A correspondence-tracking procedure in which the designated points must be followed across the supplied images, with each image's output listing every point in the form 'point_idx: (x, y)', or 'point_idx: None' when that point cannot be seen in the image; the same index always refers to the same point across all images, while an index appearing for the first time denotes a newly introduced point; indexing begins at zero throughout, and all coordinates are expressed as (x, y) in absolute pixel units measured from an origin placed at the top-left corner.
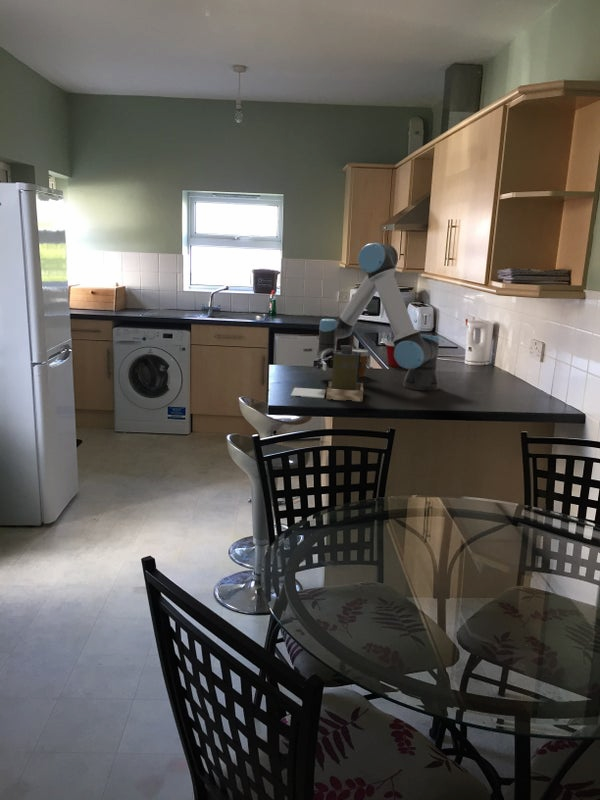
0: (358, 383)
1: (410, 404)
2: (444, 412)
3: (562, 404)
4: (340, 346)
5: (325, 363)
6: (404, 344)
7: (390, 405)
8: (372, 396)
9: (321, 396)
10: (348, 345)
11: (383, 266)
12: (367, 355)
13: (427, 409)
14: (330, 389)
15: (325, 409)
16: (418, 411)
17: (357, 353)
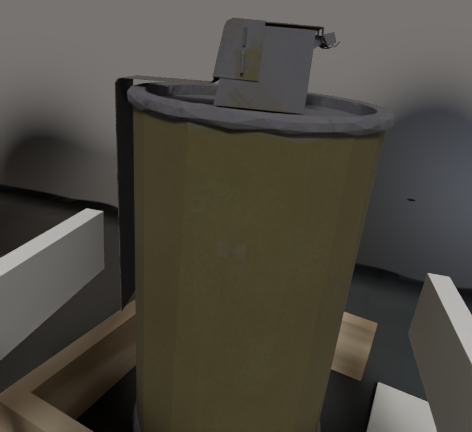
0: (43, 401)
1: (28, 241)
2: (31, 191)
3: None
4: (333, 40)
5: (438, 287)
6: None
7: (117, 250)
8: (46, 357)
9: (393, 398)
10: (235, 18)
11: None
12: None
13: (43, 209)
14: (355, 316)
15: (386, 271)
16: (93, 207)
17: (155, 90)
